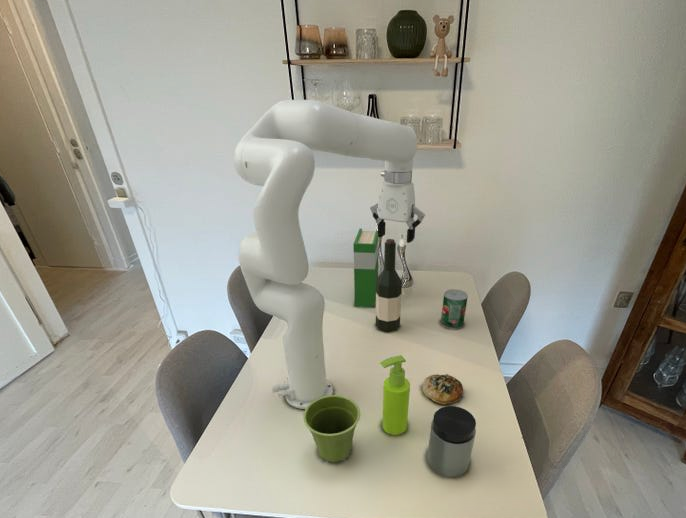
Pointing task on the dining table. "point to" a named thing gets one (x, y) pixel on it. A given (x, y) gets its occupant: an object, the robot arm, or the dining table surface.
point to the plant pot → (332, 425)
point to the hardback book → (366, 267)
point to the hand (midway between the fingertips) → (395, 238)
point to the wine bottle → (388, 292)
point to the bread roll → (442, 388)
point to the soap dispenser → (395, 397)
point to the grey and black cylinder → (451, 441)
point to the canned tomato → (454, 309)
